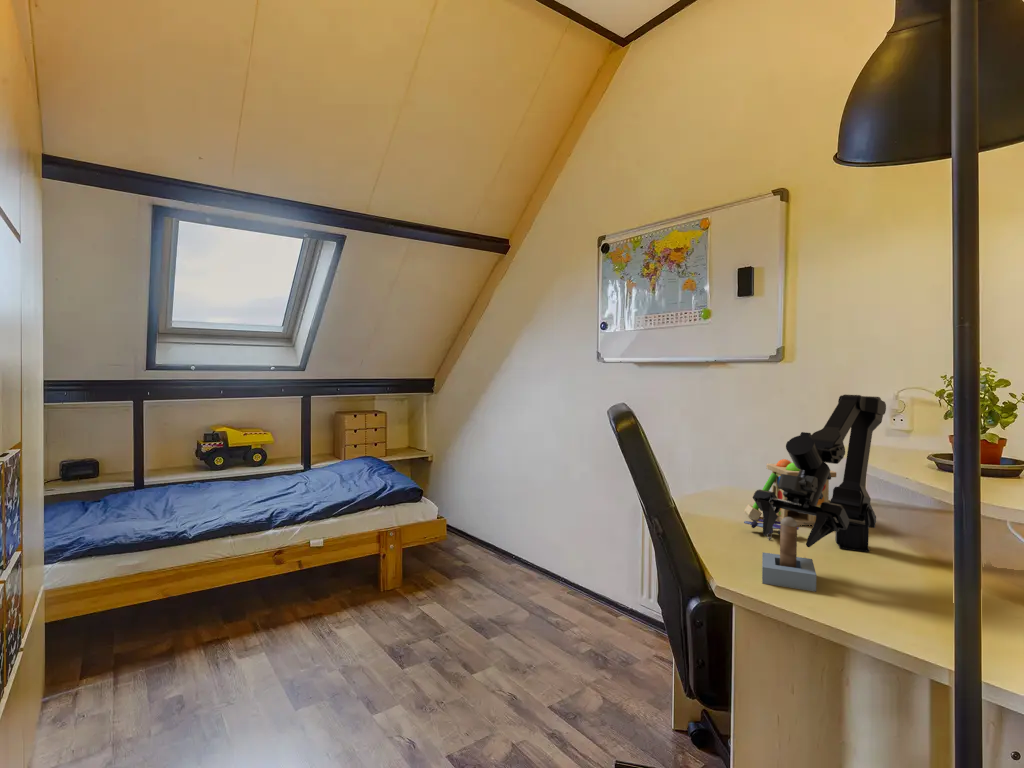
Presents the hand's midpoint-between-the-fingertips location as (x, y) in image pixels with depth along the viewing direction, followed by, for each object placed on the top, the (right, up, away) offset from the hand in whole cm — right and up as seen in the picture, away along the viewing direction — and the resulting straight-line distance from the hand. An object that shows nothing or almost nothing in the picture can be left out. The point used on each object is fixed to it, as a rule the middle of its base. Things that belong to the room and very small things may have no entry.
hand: (785, 540), depth 115 cm
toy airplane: (+12, -8, +30) cm, 34 cm away
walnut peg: (+1, -9, +1) cm, 9 cm away
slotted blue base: (+1, -9, +1) cm, 9 cm away
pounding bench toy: (+24, -8, +46) cm, 53 cm away
